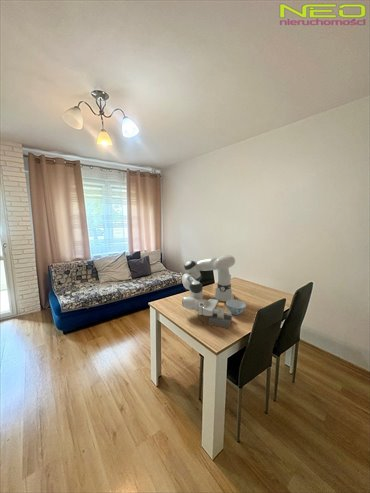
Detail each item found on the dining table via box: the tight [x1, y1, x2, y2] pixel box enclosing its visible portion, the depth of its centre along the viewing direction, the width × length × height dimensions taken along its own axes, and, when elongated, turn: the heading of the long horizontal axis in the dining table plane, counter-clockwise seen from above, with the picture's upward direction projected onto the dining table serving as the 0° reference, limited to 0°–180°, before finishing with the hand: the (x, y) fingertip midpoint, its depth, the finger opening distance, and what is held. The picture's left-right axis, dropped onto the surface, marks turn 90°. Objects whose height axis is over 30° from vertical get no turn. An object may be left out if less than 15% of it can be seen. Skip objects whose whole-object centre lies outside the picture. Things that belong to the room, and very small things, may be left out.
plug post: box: [216, 301, 226, 319], centre depth 140 cm, size 4×4×12 cm
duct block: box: [208, 312, 233, 329], centre depth 141 cm, size 12×14×4 cm
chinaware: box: [225, 299, 247, 316], centre depth 155 cm, size 15×15×8 cm
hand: (222, 309), depth 140 cm, fingers open, 8 cm apart
